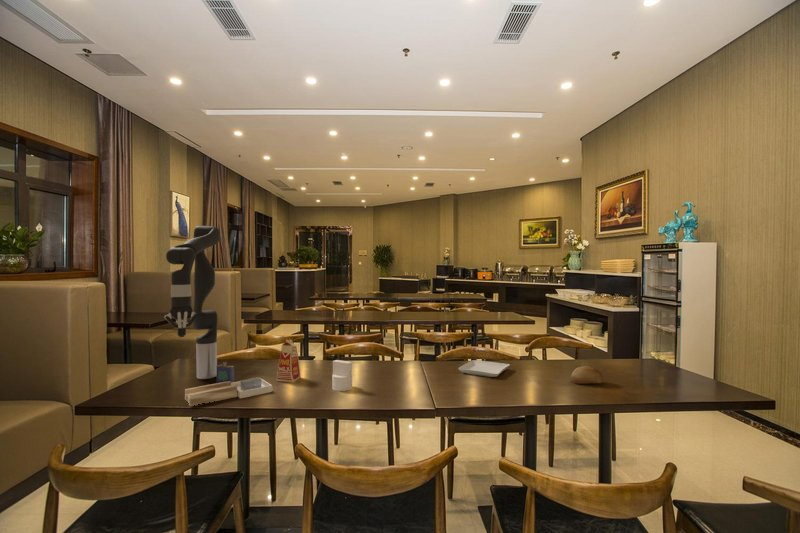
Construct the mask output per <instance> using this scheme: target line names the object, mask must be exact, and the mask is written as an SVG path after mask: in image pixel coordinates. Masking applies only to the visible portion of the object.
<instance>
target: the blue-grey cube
mask: <svg viewBox="0 0 800 533" xmlns="http://www.w3.org/2000/svg"><path fill="white" fill-rule="evenodd" d="M249 379H251V380H252V381H253V389H255V388H260V387H261V379H262V378H261V377H260V376H257V377H250V378H249Z"/></svg>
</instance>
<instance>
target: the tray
mask: <svg viewBox="0 0 800 533" xmlns="http://www.w3.org/2000/svg"><path fill="white" fill-rule="evenodd" d="M231 386H237V397H238V398H239V399H245V398H249V397H253V396H259V395H263V394H269V393H271V392H272V393H273V391H274V390H273V387H274V386H273V385H272V384H271V383H269V382H267V380H265V379H263V378H261V387H260V388H255V389H250V390H245V391H242V390H241V380H238V381H234V382H232V383H231Z"/></svg>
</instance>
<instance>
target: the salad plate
mask: <svg viewBox="0 0 800 533" xmlns="http://www.w3.org/2000/svg"><path fill="white" fill-rule="evenodd" d="M510 365H511V364H509V363H502V362H496V361H487V360H476V359H473V360H470V361H468V362H466V363H464V364H463V365H461V366H460V367H458V370H459V371H460V372H462V373H464V374H468V375H475V376H481V377H489V378H495V377H498V376H499V375H500V374H501V373H503V372H504V371H505V370H507V369H508V368H509V367H510Z"/></svg>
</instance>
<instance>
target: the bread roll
mask: <svg viewBox="0 0 800 533" xmlns="http://www.w3.org/2000/svg"><path fill="white" fill-rule="evenodd" d="M604 380H605V378H604V375H603V373H602V372H601V370H599V369H598V368H596V367H594V366H590V365H589V366H587V365H582V366H579V367H576V368H575V369H574V370H573V371H572V373H571V375H570V381H571V382H572V383H573V384H578V385H583V384H602V383H603V382H604Z"/></svg>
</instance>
